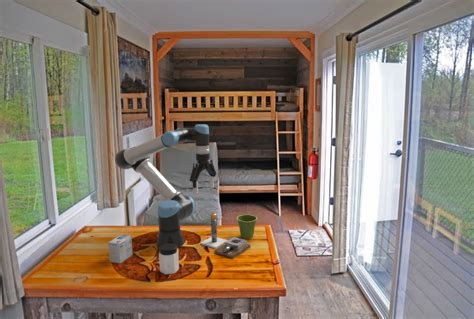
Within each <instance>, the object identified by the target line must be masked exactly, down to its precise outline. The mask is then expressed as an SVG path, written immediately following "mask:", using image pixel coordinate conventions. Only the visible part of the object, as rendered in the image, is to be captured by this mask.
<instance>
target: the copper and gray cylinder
mask: <svg viewBox="0 0 474 319" xmlns="http://www.w3.org/2000/svg"><path fill="white" fill-rule="evenodd" d="M217 222H218V220H217V213H216V212H212V213H210V229H211V230H210V231H211V232H210V233H211V236H210V237H212V242H213V243H215V242H217V237H218V231H217V228H218V227H217V226H218V224H217Z"/></svg>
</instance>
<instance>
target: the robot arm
mask: <svg viewBox="0 0 474 319" xmlns="http://www.w3.org/2000/svg"><path fill="white" fill-rule="evenodd" d="M209 130H210V129H209V125H208V124H195V126H194V127H192V128H191V127H177V128H176V129H173V130H168V131H165V132H164V133H163V134H161V135H158V136H156V137H154V138H152V139H150V140H147V141H145V142H143V143H141V144H139V145H136V146H133V147H131V148H124V149H121V150H119V151H118V152H116V154H115V157H114V162H115V165H116V166H117V167H118V168H119V169H123V170H129V169H132V170H134V172H135V173H138V174H141V176H143V178H144V179H145V180H146V181H147V182H148V183H149V185H151V187H152V188H153V189H154V190H155V191H156V192H157V193H158V195H160V197H161V198H162V199H163V200H164V201H163V202H161V203H160V204H159V205H158V207H157V216H158V217H157V218H158V235H157V239H156V246H157V248H159V249H160V246H161V245H163V244H167V243H173V244H176V245H177V249H178V248H180V247H182V246H183V245H185V238H184V236H183V233H182V230H181V221H183V220H185V219H186V218H189V217H190V216H191V215H192V214H193V213H195V210H196V203H195V201H194V199H193V198H192V197H191V196H189V195H184V193H183V192H182V191H178V190H177V189H176V188H174V186H173V185H172V184H171V183H170V182H169V181H168V179H166V177H165V176H163V174H162V173H161V172H160V171H159V170H158V168H156V167H155V165H153V163H152V158H151V156H152V155H154V154H156V153H158V152H161V151H163V150H166V149H168V148H170V147H171V148H172V147H173V146H176V145H178V144H183V143H186V142H187V143H188V142H190V143H194V144H195V160H196V162H197V163H195V162H194V163H192V170H191V173H190V177H189V182H192V188H193V190H192V191H193V194H197V195H198V194H199V182H198V179H199V178H200V175H201V173H202V172H203V171H204V170H205V171H206V172H207V174H208V175H209V176H208V184H209V185H208V186H209V187H208V188H211V189H214V188H215V183H214V182H215V177H216V175H217V171H216V168H215V166H214V163H213V162H214V161H213V159H211V157H210V156H211V155H210V154H211V153H210V131H209Z"/></svg>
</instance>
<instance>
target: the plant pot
mask: <svg viewBox="0 0 474 319" xmlns="http://www.w3.org/2000/svg"><path fill="white" fill-rule="evenodd" d="M236 220H237V224H238V227H239V234H240V237H241V239H251V238H254V233H255V227H256V223H257V220H258V217H257V216H255V215H253V214H240V215H237V217H236Z"/></svg>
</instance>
